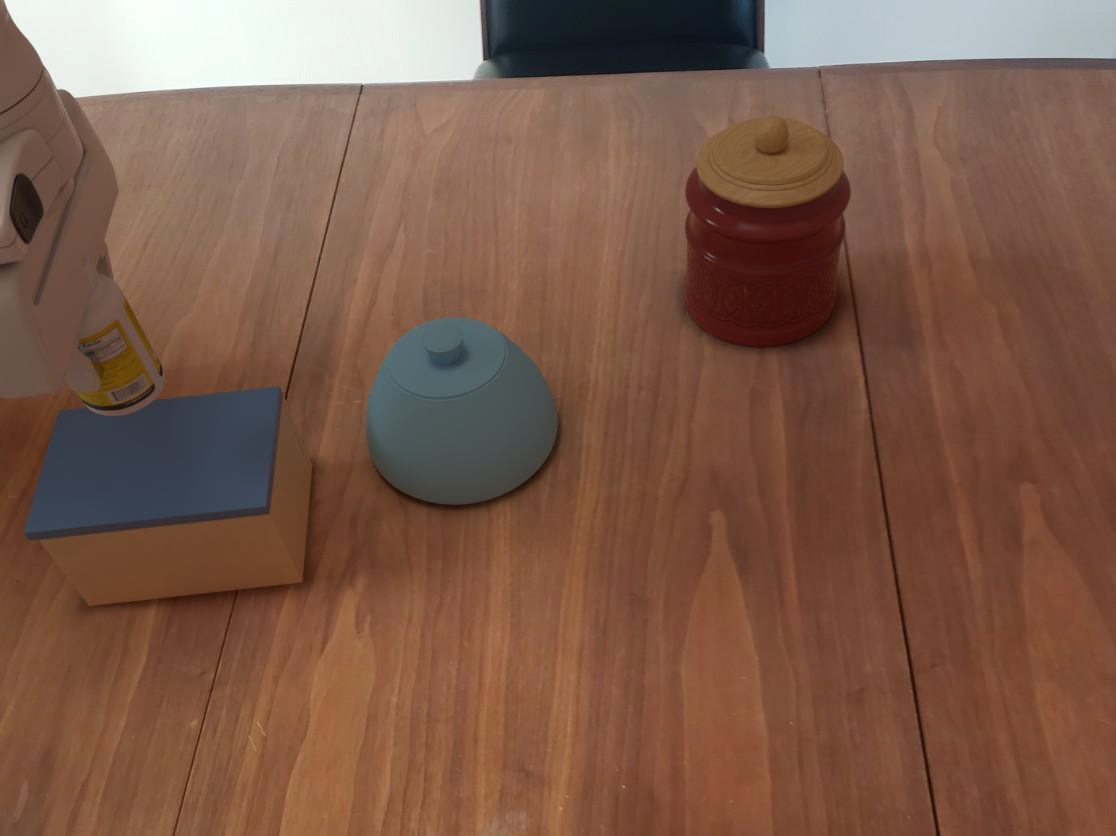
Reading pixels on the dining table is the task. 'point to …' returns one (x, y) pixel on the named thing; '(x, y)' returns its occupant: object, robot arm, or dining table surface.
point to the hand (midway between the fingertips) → (100, 347)
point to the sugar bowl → (459, 413)
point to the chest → (200, 544)
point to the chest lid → (158, 464)
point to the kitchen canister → (765, 231)
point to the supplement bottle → (117, 350)
